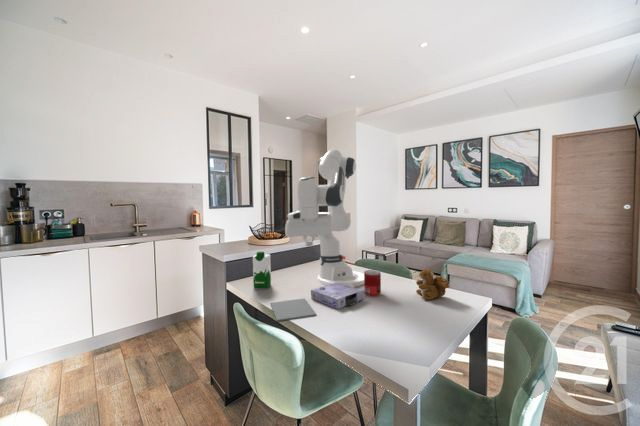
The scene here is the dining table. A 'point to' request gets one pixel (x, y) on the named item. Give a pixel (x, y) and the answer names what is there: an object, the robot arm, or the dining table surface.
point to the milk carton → (261, 270)
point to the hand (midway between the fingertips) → (309, 245)
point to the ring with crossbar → (351, 283)
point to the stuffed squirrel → (431, 285)
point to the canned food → (372, 282)
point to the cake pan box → (337, 295)
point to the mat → (292, 309)
